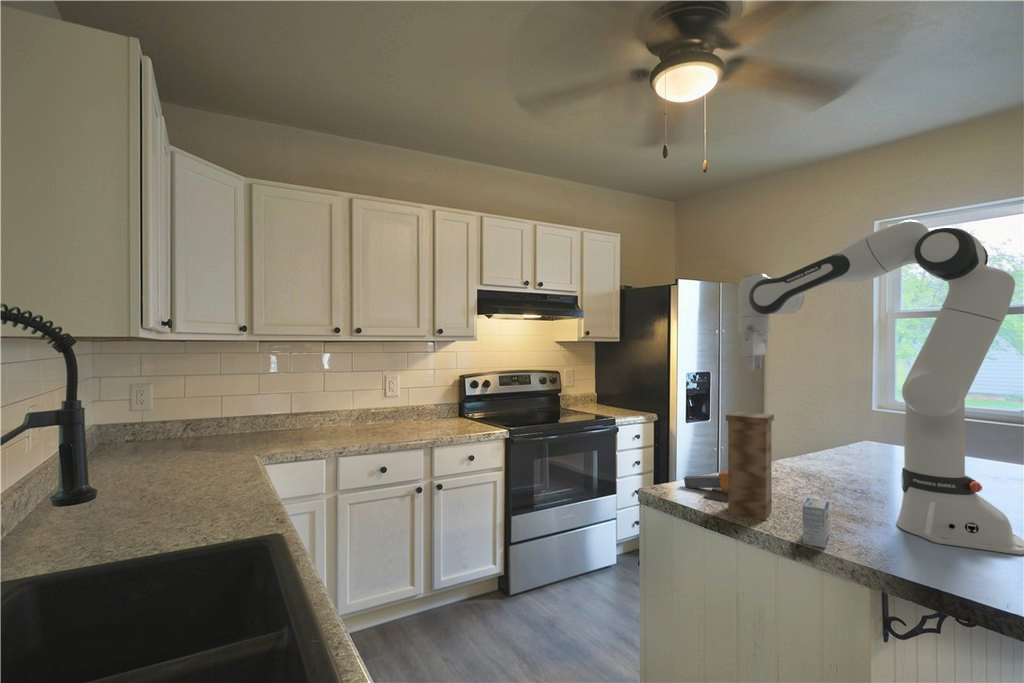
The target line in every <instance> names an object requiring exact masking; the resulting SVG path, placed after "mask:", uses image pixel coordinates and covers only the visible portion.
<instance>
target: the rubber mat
mask: <svg viewBox="0 0 1024 683" xmlns="http://www.w3.org/2000/svg"><path fill="white" fill-rule="evenodd" d="M703 499H707V500H712V499H713V501H718V500H719V502H723V501H724V503H728V494H722V490H721V488H712V489H711V490H709V492H707V493H706V494H705V495H704V496H703Z"/></svg>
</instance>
